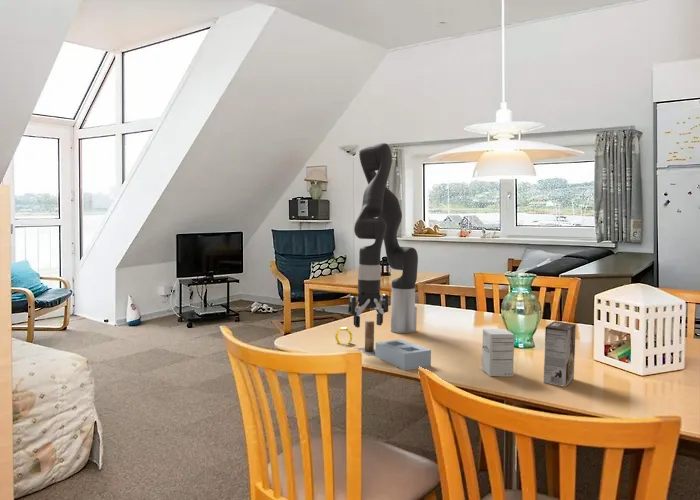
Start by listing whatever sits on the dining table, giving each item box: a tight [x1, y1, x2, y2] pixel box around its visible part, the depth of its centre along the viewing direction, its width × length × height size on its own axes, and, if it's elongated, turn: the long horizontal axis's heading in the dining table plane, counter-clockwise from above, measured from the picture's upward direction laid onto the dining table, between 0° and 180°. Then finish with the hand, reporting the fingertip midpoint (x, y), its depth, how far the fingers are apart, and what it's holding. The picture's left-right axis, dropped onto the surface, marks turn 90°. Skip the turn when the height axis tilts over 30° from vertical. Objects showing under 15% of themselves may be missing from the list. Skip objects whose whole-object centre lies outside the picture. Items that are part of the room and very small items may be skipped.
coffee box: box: [543, 321, 577, 387], centre depth 161 cm, size 9×6×16 cm
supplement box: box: [481, 328, 515, 377], centre depth 168 cm, size 7×7×13 cm
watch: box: [334, 326, 353, 345], centre depth 202 cm, size 6×3×6 cm, turn 71°
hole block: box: [374, 339, 432, 371], centre depth 180 cm, size 10×16×5 cm, turn 30°
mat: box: [355, 346, 376, 357], centre depth 191 cm, size 6×10×1 cm, turn 30°
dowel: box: [364, 320, 375, 352], centre depth 191 cm, size 3×3×10 cm
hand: (368, 326), depth 191 cm, fingers open, 8 cm apart
